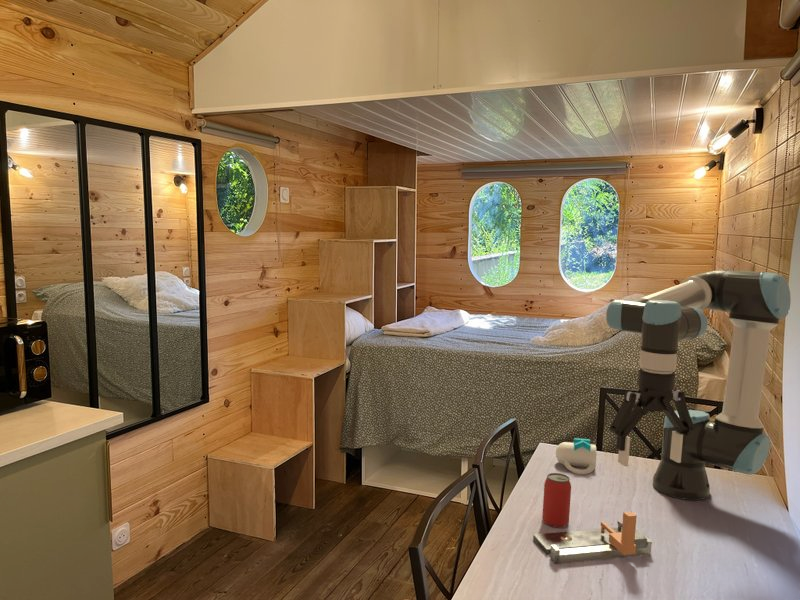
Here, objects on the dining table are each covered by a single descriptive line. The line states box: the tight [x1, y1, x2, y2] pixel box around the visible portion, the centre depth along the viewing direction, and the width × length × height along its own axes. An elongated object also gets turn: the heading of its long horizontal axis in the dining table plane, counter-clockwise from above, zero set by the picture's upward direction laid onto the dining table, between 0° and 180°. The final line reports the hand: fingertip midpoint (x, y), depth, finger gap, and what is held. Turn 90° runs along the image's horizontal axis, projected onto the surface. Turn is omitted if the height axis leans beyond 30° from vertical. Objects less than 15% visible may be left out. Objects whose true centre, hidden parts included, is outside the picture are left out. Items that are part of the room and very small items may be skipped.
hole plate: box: [532, 526, 622, 555], centre depth 146 cm, size 24×7×1 cm, turn 103°
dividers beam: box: [549, 519, 653, 565], centre depth 142 cm, size 24×9×4 cm, turn 103°
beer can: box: [541, 472, 572, 528], centre depth 155 cm, size 7×7×12 cm
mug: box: [555, 437, 598, 475], centre depth 192 cm, size 12×9×12 cm
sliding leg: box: [600, 511, 637, 555], centre depth 141 cm, size 3×12×10 cm, turn 13°
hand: (649, 462), depth 138 cm, fingers open, 13 cm apart
